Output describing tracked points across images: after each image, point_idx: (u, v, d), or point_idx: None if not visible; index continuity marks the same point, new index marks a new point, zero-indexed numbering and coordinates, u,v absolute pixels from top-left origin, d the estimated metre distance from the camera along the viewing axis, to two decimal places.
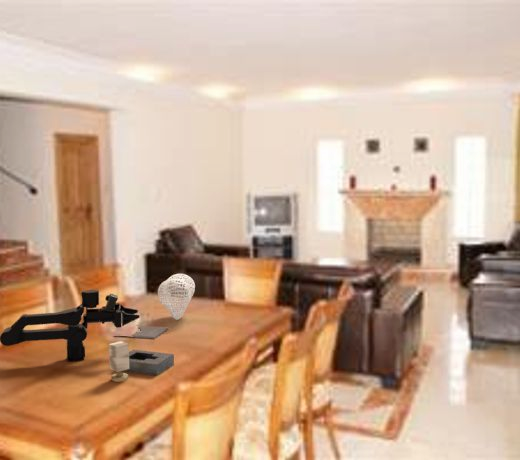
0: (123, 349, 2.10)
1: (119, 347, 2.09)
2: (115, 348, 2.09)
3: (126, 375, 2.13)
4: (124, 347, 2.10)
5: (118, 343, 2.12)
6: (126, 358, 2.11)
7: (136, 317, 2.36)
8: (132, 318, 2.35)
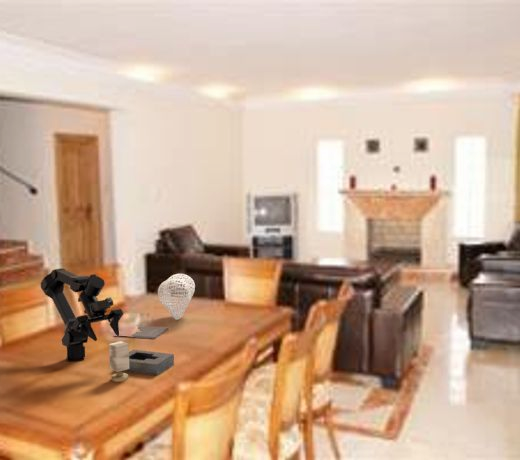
0: (123, 349, 2.10)
1: (119, 347, 2.09)
2: (115, 348, 2.09)
3: (126, 375, 2.13)
4: (124, 347, 2.10)
5: (118, 343, 2.12)
6: (126, 358, 2.11)
7: (93, 338, 2.14)
8: (90, 335, 2.15)
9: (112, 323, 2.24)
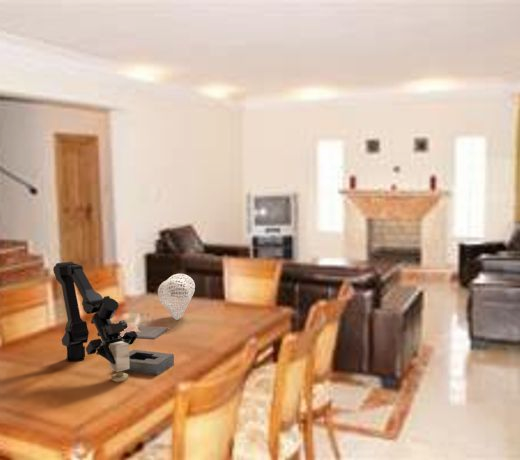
0: (124, 349, 2.10)
1: (119, 347, 2.09)
2: (115, 348, 2.09)
3: (126, 375, 2.13)
4: (124, 347, 2.10)
5: (118, 343, 2.12)
6: (126, 358, 2.11)
7: (111, 361, 2.09)
8: (108, 358, 2.10)
9: None
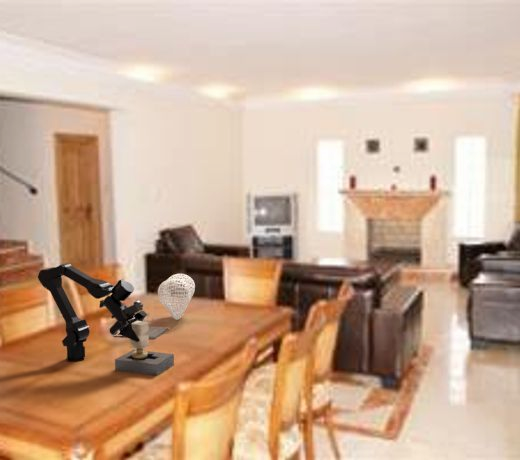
0: (145, 327, 2.24)
1: (142, 325, 2.22)
2: (139, 326, 2.21)
3: (145, 352, 2.27)
4: (145, 325, 2.24)
5: (138, 322, 2.25)
6: (147, 335, 2.25)
7: (135, 339, 2.22)
8: (131, 337, 2.21)
9: None
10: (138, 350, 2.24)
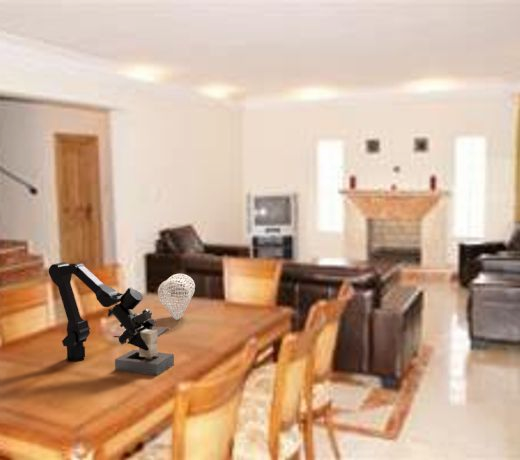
0: (154, 336, 2.23)
1: (151, 334, 2.21)
2: (148, 335, 2.20)
3: None
4: (154, 333, 2.23)
5: (147, 331, 2.24)
6: (156, 344, 2.24)
7: (144, 348, 2.21)
8: (140, 345, 2.21)
9: None
10: None
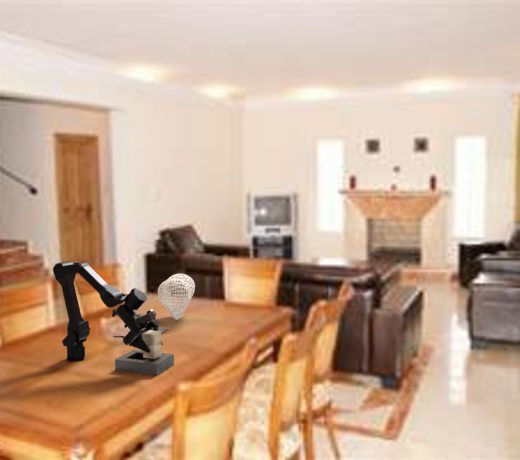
0: (158, 337, 2.22)
1: (155, 335, 2.20)
2: (152, 336, 2.20)
3: None
4: (158, 334, 2.22)
5: (150, 332, 2.23)
6: (159, 345, 2.24)
7: (146, 350, 2.18)
8: (142, 348, 2.18)
9: None
10: None
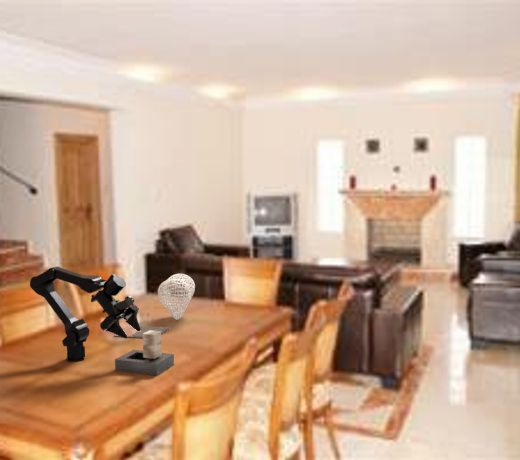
0: (158, 337, 2.22)
1: (155, 335, 2.21)
2: (152, 336, 2.20)
3: None
4: (158, 334, 2.22)
5: (150, 332, 2.23)
6: (159, 345, 2.24)
7: (123, 336, 2.21)
8: (119, 333, 2.21)
9: (130, 320, 2.32)
10: None
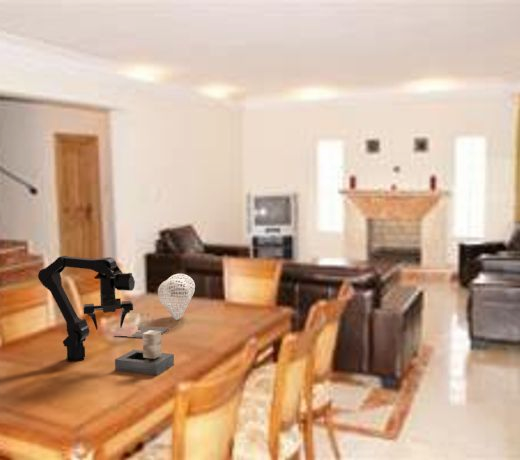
0: (158, 337, 2.22)
1: (155, 335, 2.21)
2: (152, 336, 2.20)
3: None
4: (158, 334, 2.22)
5: (150, 332, 2.23)
6: (159, 345, 2.24)
7: (95, 326, 2.31)
8: None
9: (121, 313, 2.34)
10: None
